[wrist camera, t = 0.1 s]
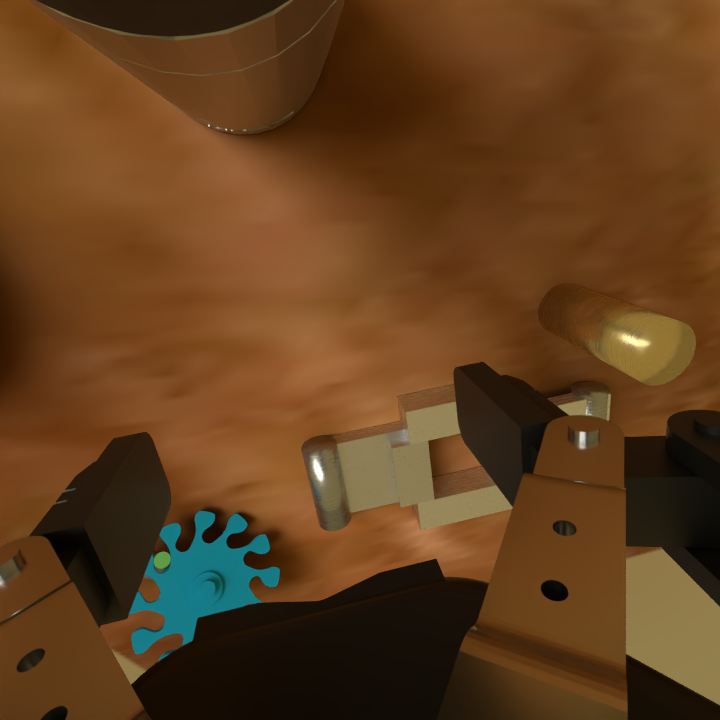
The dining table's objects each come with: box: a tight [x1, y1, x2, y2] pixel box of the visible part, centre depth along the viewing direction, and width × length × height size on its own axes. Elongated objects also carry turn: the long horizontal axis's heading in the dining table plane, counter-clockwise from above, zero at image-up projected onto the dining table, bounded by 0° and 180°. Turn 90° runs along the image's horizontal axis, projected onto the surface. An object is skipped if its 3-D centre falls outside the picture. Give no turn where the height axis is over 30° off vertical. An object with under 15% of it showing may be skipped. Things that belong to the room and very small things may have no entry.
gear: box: [129, 511, 280, 661], centre depth 32 cm, size 11×6×10 cm
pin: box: [539, 284, 696, 386], centre depth 27 cm, size 4×4×9 cm
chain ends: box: [301, 381, 611, 531], centre depth 32 cm, size 10×22×3 cm, turn 99°
